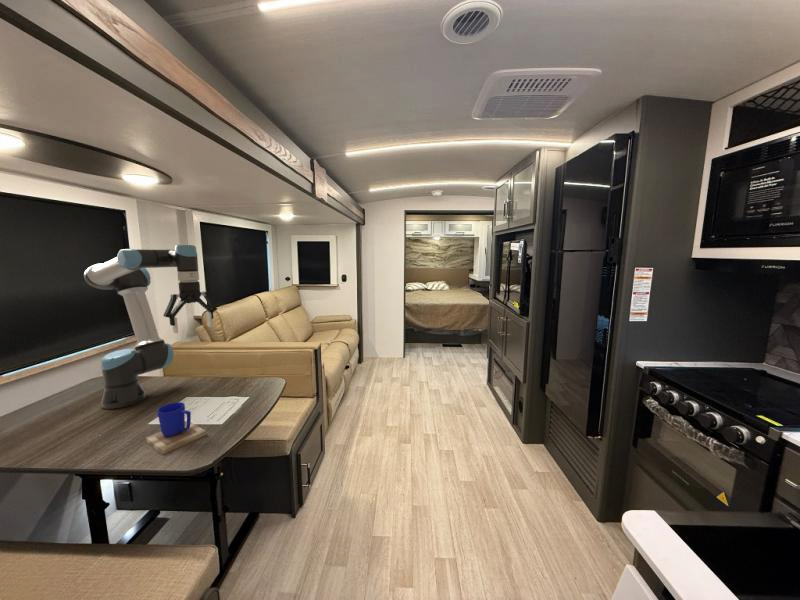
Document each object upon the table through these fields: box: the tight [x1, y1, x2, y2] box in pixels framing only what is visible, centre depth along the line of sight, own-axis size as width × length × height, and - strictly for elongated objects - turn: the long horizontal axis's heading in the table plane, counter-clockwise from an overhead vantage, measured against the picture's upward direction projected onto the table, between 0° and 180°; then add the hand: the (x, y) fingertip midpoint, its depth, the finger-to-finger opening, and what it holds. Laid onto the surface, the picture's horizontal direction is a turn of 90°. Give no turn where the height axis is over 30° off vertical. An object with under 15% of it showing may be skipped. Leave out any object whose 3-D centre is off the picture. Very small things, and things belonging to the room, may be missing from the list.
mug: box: [156, 401, 192, 436], centre depth 115 cm, size 8×12×10 cm
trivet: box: [145, 420, 207, 455], centre depth 115 cm, size 14×14×2 cm
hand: (193, 329), depth 136 cm, fingers open, 13 cm apart
